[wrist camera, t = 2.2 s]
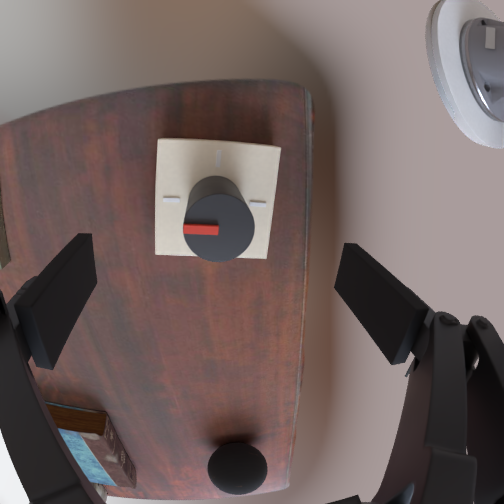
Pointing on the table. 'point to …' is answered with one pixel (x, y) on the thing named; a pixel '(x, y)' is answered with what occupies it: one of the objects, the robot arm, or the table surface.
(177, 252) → the knob panel
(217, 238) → the knob
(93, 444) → the book
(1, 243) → the button box
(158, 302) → the table surface
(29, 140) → the table surface
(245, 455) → the speaker
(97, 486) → the decorative bird
